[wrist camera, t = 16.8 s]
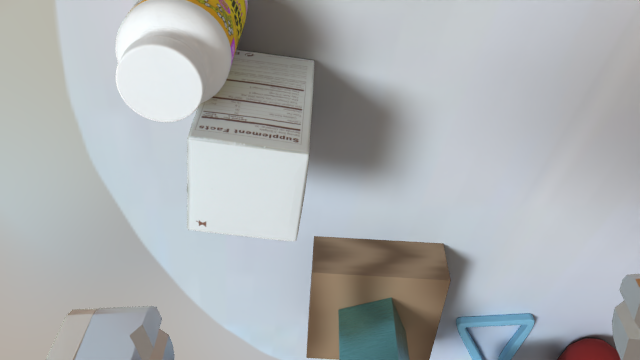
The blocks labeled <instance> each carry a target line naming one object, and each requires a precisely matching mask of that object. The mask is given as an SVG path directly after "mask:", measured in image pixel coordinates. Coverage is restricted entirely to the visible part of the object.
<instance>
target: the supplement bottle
mask: <svg viewBox="0 0 640 360" xmlns="http://www.w3.org/2000/svg"><path fill="white" fill-rule="evenodd" d="M247 10H248V2H247V0H138V1H137V2H136V4H135V5H134V6H133V8H132V9H131V10H130V12H129V13H128V14H127V16H126V17H125V19H124V20H123V22H122V24H121V25H120V28H119V30H118V33H117V37H116V46H115V48H116V57H117V61H118V65H117V69H116V85H117V89H118V91H119V93H120V95H121V97H122V99H123V100H124V101H125V103H126V104H127V105H128V106H129V107H130V108H131V109H132V110H134V111H135V112H136V113H138V114H139V115H141V116H143V117H145V118H147V119H150V120H154V121H158V122H174V121H178V120H181V119H184V118H186V117H188V116H189V115H191V114H192V113H193V112H194V111H195V110H196V109H197V108H198V106H199V105H200V104H201V103H203V102H205V101H207V100H209V99H210V98H212V97H213V96H214V95H215V94H217V93H218V91H219V90H220V89H221V88H222V86H223V85H224V83H225V81H226V79H227V77H228V74H229V71H230V68H231V65H232V61H233V58H234V55H235V52H236V49H237V46H238V43H239V40H240V37H241V33H242V30H243V27H244V24H245V20H246V16H247Z"/></svg>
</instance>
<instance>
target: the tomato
mask: <svg viewBox="0 0 640 360" xmlns="http://www.w3.org/2000/svg"><path fill="white" fill-rule="evenodd" d="M557 360H621V359H620V356H619V354H618V352H617V350H616V349H615V348H613V347H612V346H611V345H609V344H608V343H606V342H605V341H604V340H601V339H582V340H580V341H577V342H575V343H573V344H571V345H569V346H568V347H567V348H566V350H565V351H564V352H563V353H562V354H561V356H560V357H559V358H558V359H557Z"/></svg>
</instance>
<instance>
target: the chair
mask: <svg viewBox="0 0 640 360" xmlns="http://www.w3.org/2000/svg"><path fill="white" fill-rule="evenodd" d="M534 323H535V321H534V318H533V315H532V314H529V313H528V314H510V315H492V316H474V317H459V318H457V320H456V324H457V328H458V332H459V334H460V336H461V338H462V340H463V342H464V344H465V346H466V348H467V350H468V352H469V354H470V356H471V358H472V360H482V357H481V354H480V352H479V350H478V348H477V346H476V345H475V343H474V341H473V339H472V338H471V336H470V334H469V332H468V331H467V329H466V328H467V327H485V326H506V325H521V326H520V327H519V329H518V330H517V331H516V333H515V334H514V335H513V337H512V338H511V339H510V341H509V342H508V344H507V345H506V346H505V348H504V349H503V351H502V352H501V354H500V356H499V358H498V360H511V359H512V357H513V356H514V354H515V353H516V352H517V350H518V349H519V347H520V346H521V344H522V343H523V342H524V340H525V339H526V337H527V336H528V334H529V333H530V331H531V330H532V328H533V326H534Z"/></svg>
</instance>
